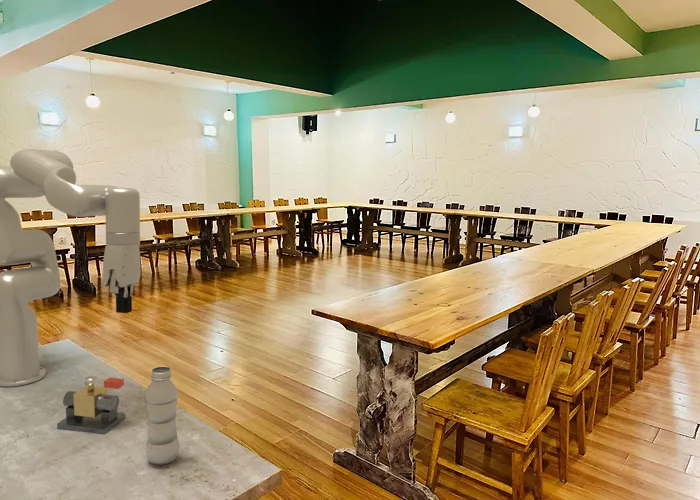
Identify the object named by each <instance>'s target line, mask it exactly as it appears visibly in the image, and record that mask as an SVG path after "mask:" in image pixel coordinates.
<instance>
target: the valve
mask: <svg viewBox="0 0 700 500" xmlns="http://www.w3.org/2000/svg"><path fill="white" fill-rule="evenodd" d="M62 404H63V406H64V407H65V418H63V419H62V420H61V421H59V422H58V423H56V429H58V430H65V431H73V432H83V433H93V434H99V435H100V434H102V435H106V434H107V433H108V432H110V430H113V428H115V427H116V426H117V425H118V424H119V423H120V422H122V421H123V420H124V419H126V412H119V411H118V407H119V405H120V397H119V395H114V394H109V388H105V387H104V386H103V385H95V384H93V385H86V386H84V387H83V388H81V389H80V390H78V391H76V390H68V391H67V392H65V393H64V396H63V399H62Z"/></svg>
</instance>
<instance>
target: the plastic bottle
mask: <svg viewBox="0 0 700 500" xmlns="http://www.w3.org/2000/svg"><path fill="white" fill-rule="evenodd" d="M171 373H172V369H171V367H169V366H157V367H153V368H152V370H151V377H150V380H151V382H150V384H149V385H148V386H147V388H146V389H145V392H144V395H143V397H144V403H145V408H146V414H147V423H148V425H147V426H148V427H147V441H146V446H145V455H146V459H147V460H148V461H149V462H150V463H151V464H153V465H157V466H159V465H160V466H161V465H166V464H169V463H171V462H173V461H175V460H176V458H177V457H178V455H179V451H180V441H179V437H178V431H177V423H176V421H177V420H176V419H177V418H176V416H177V405H178V397H179V391H178V388H177V386H176V385H175V384H174V382H173V381H172V380H171V379H172V374H171Z"/></svg>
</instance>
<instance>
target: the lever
mask: <svg viewBox="0 0 700 500" xmlns="http://www.w3.org/2000/svg"><path fill="white" fill-rule="evenodd" d="M93 384H94V385H96V386H103V387H105V388H108V389H116V390H118V389H120V388H122V387H123V386H124V385H125V381H124V378H117V377H108V378H98V377H97V376H94V375H92V376H91V375H90V376H87V377H85V378H84V385H86V386H88V385H93Z"/></svg>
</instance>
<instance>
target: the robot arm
mask: <svg viewBox="0 0 700 500" xmlns="http://www.w3.org/2000/svg"><path fill="white" fill-rule="evenodd" d="M9 165H10V166H1V165H0V266H14V265H21V264H22V265H23V264H27V263H30V264H31V266H30V267H22V268H15V269H10V270H9V269H8V270H4V271H2V272H0V387H19V386H24V385H29V384H32V383H36V382H38V381H39V380H41V379H43V378H44V377H45V376H47V370H46V368H44V367H43V366H40V353H39V351H40V350H39V332H38V318H37V314H36V312H35V311H34V310H33V309H32V308H31V306H30V305H29V304H28V302H32V301H36V300H41V299H45V298H49V297H53V296H54V295H57V294H58V292H59V291H60V289H61V285H62V284H61V283H62V282H61V273H60V268H59V263H58V258H57V253H56V249H55V245H54V242H53V239H52V238H51V236H50V235H49V233H47V232H46V231H44V230H42V229H34V228H33V229H24V228H23V227H22V224H21V217H20V215H19V213H18V211H17V210H16V208H15V207H14V206H13V205H12V204H11V203H10V202H9V201H7V200H6V199H7V198H8V199H11V198H12V199H13V198H14V199H15V198H16V199H17V198H18V199H20V198H21V199H25V198H29V199H31V198H35V199H36V198H41V197H44V196H45V199H46V201H47V202H48V204H49V205H50V206H51V207H53V208H54V209H56V210H58V211H60V212H62V213H64V214H66V215H69V216H72V217H78V218H83V217H84V218H85V217H105V245H106V246H105V248H104V252H103V253H104V254H103V265H102V285H103V286H104V287H109V293H110V294H113V295H114V298H115V312H116V313H118V314H120V313H121V314H130V312H132V311H133V305H132V304H133V297H132V296H133V293H134V287H135V286H136V285H137V282H138V281H139V280H140V279H141V273H142V272H141V271H142V270H141V268H142V267H141V253H140V246H141V219H140V218H141V210H140V209H141V208H140V207H141V202H140V201H141V200H140V199H141V198H140V197H141V195H140V192H139V191H138V190H137V189H136V188H132V187H131V188H130V187H118V186H114V185H107V184H106V185H105V184H103V185H102V184H76V183H77V175H76V172H75V170H74V164H73V162H72V160H71V158H70V157H69V156H68V155H67V154H65V153H64V152H61V151H58V150H57V151H56V150H50V149H49V150H45V149H37V148H35V149H34V148H28V149H27V148H26V149H21V150H18V151H16V152H14V153H13V155H12V156H11V157H10V160H9Z"/></svg>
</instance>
